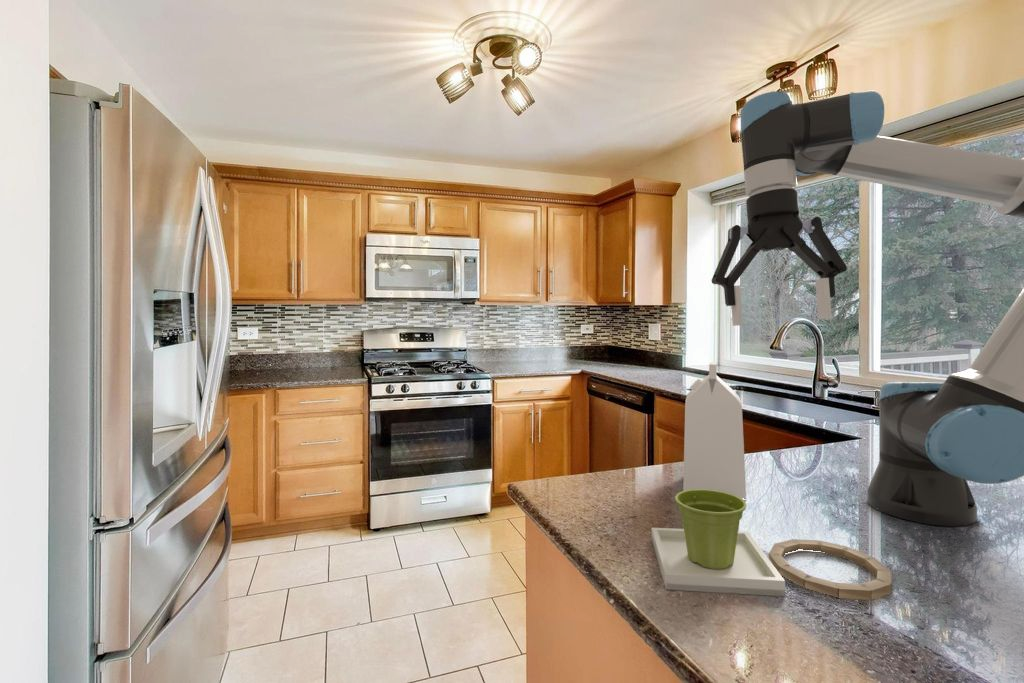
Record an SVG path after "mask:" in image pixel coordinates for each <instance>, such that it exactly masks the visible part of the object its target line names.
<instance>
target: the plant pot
mask: <svg viewBox="0 0 1024 683" xmlns="http://www.w3.org/2000/svg"><path fill="white" fill-rule="evenodd" d="M674 500H675V502H676V504H677V505H678V510H679V513H680V515H681V521H682V526H683V529H684V533H685V539H686V546H687V552H688V557H689V559H690V560H691V561H692V562H697V563H699V564H701V565H702V566H703V567H706V568H713V569H723V568H727V567H728V566H729V565H733V563H734V556H735V549H736V542H737V535H738V531H739V526H740V520H741V519H742V518H743V512H744V511H745V510H746V509H747V503H746V501H744V500H743V499H741V498H739V497H737V496H735V495H732V494H729V493H725V492H721V491H714V490H702V489H694V490H686V491H683V490H682V491H679V492H678V493H677V494H676V495H675V496H674Z"/></svg>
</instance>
